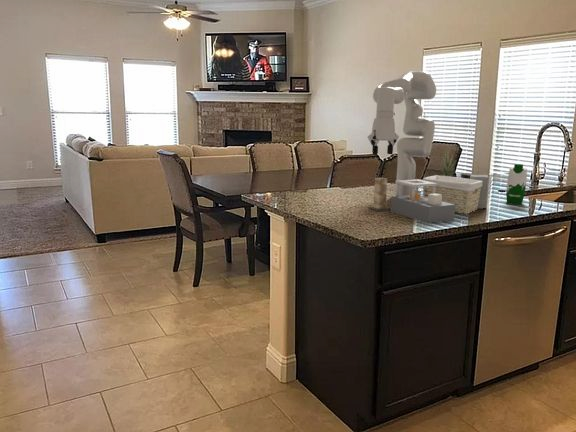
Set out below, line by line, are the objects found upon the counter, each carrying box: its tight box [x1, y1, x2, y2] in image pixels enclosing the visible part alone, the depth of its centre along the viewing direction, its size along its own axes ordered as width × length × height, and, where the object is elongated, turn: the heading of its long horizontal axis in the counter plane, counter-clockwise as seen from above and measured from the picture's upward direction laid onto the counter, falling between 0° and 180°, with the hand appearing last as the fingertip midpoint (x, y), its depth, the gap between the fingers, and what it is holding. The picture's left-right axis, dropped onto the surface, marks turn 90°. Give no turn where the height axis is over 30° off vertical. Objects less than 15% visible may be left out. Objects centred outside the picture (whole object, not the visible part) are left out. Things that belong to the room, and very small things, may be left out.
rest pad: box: [368, 206, 391, 212], centre depth 238 cm, size 7×7×1 cm
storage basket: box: [422, 174, 483, 215], centre depth 240 cm, size 24×16×15 cm
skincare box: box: [470, 174, 489, 209], centre depth 245 cm, size 8×7×16 cm
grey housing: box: [389, 178, 456, 224], centre depth 224 cm, size 26×14×14 cm, turn 25°
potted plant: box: [439, 151, 457, 177], centre depth 298 cm, size 10×10×25 cm
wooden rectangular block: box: [373, 177, 388, 209], centre depth 237 cm, size 4×4×14 cm
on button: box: [428, 193, 442, 205], centre depth 217 cm, size 4×4×7 cm
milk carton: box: [505, 163, 528, 205], centre depth 258 cm, size 9×9×20 cm
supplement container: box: [460, 172, 480, 179], centre depth 278 cm, size 10×10×12 cm
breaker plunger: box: [409, 193, 422, 200], centre depth 229 cm, size 5×5×8 cm
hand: (382, 154), depth 233 cm, fingers open, 7 cm apart
